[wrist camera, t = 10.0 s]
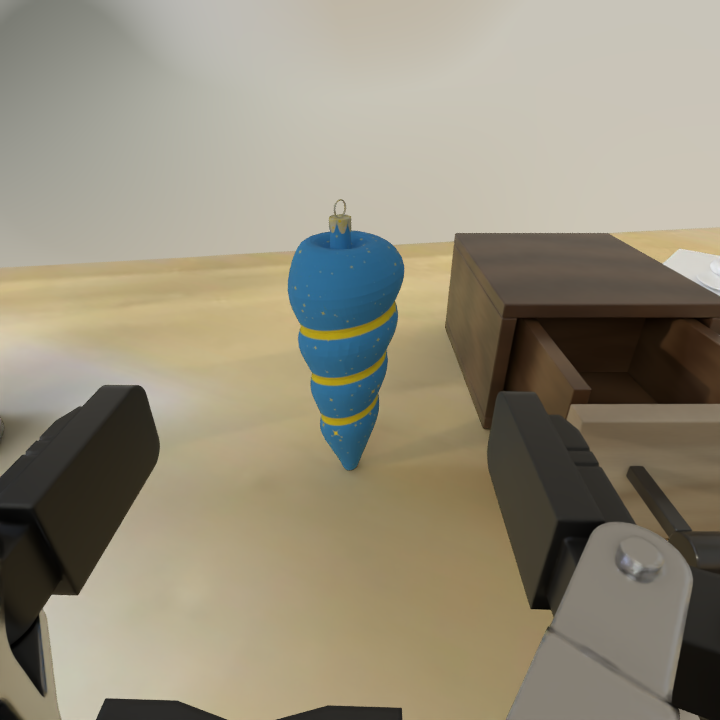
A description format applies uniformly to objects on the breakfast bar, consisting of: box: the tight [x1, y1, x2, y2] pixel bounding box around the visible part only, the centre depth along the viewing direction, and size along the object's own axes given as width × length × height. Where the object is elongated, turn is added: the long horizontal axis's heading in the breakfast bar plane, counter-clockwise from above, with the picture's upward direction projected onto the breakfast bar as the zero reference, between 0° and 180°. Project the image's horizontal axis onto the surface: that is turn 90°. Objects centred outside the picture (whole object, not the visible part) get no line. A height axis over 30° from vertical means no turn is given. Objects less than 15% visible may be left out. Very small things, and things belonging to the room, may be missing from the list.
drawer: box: [503, 318, 720, 574], centre depth 23 cm, size 18×12×7 cm, turn 0°
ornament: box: [288, 199, 404, 470], centre depth 23 cm, size 5×5×15 cm
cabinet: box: [445, 233, 720, 429], centre depth 34 cm, size 15×13×9 cm
